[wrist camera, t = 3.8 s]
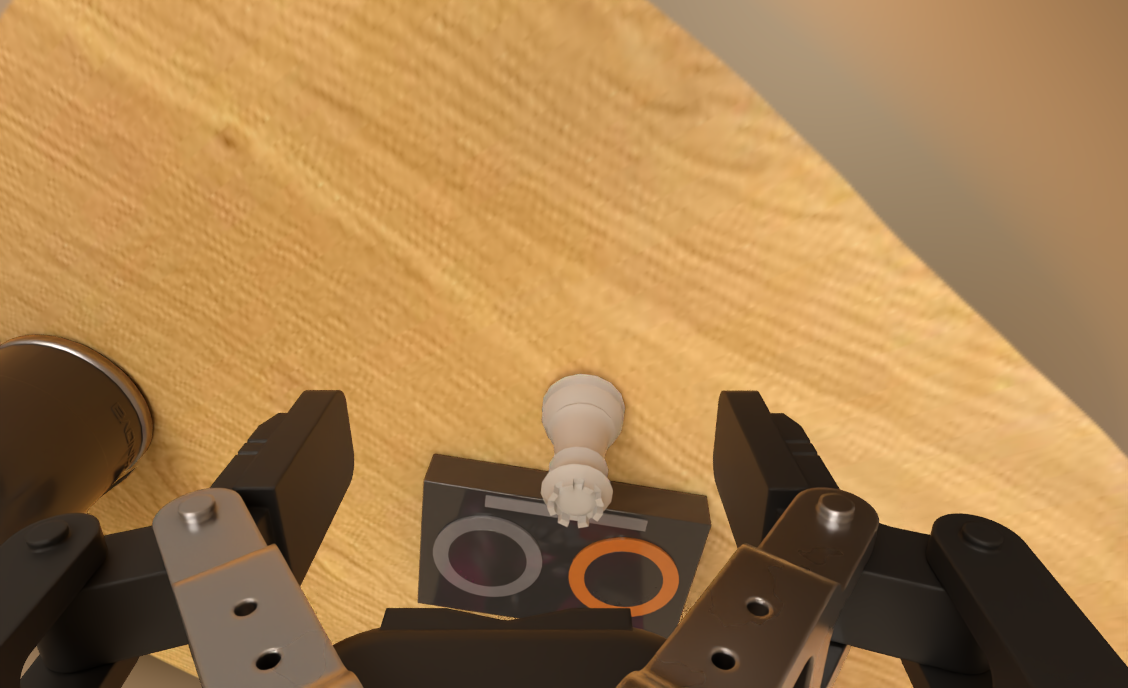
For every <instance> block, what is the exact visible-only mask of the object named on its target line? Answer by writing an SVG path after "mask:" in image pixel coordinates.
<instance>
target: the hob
mask: <svg viewBox="0 0 1128 688" xmlns="http://www.w3.org/2000/svg"><path fill="white" fill-rule="evenodd" d="M548 473H549V472H548V471H541V470H535V469H528V468H522V467H516V466H509V465H503V464H496V463H490V462H483V461H477V460H471V459H464V458H458V457H451V456H445V455H438V454H434V455H433V457H432V460H431V462H430V465H429V468H428V470H427V473H426V476H425V478H424V482H423V502H422V522H421V542H420V562H419V583H418V603H422V604H429V605H435V606H442V607H448V608H455V609H461V610H468V611H474V612H481V613H487V614H494V615H500V616H507V617H513V618H524V617H529V616H534V615H539V614H544V613H549V612H554V611H559V610H564V609H569V608H630V609H631V618H632V627H634V628H638V629H642V630H646V631H649V632H652V633H655V634H657V635H660V636H662V637H664V638H666V639H668V637H669V636H670V635H671V634H672V632H673V631H674V630H675V628H676V627H677V626H678V623H679V620H680V617H681V614H682V611H683V608H684V605H685V602H686V599H687V596H688V593H689V590H690V587H691V584H692V582H693V579H694V576H695V573H696V570H697V567H698V564H699V561H700V558H701V555H702V552H703V549H704V546H705V543H706V540H707V537H708V534H709V531H710V528H711V520H710V514H709V508H708V501H707V497H706V496H702V495H696V494H689V493H683V492H676V491H670V490H663V489H657V488H651V487H644V486H638V485H631V484H625V483H618V482H612V481H610V484H611V487H612V489H613V494H612V500H611V503H610V504H609V505H608V507H607V508H606V509H605V510H604V511H603V515H602V516H601V518H600V519H599V520H598V521H596V520H594V519H593V518H590V519H589V526H588V527H583V528H578V521H575V520H569V524H568V527H566V526H564V525H562V524H560V523H558V515H557V514H555V515H552V516H550V513H549V511H548V509H547V505H546V504H545V502H544V500H543V497H542V495H541V487H542V482H543V480H544V479H545V477H546V476H547V474H548Z"/></svg>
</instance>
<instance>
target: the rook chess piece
mask: <svg viewBox="0 0 1128 688" xmlns="http://www.w3.org/2000/svg"><path fill="white" fill-rule="evenodd" d="M542 412H543V413H542V423H543V426H544V428H545V431H546V434H547V436H548V438H549V439H550V440H551V442H552V444H553V445H554V454H555V455H554V457H553V458H552V460H551V461H550V465H549V473H548V474H547V476H546V477H545V479H544V480H543V482H542V487H541V495H542V497H543V500H544V502H545V504H546V505H547V509H548V511H549V513H550V516H552V515H555V514H557V515H558V523H560V524H562V525H564V526H566V527H568V524H569V520H575V521H578V528H583V527H588V526H589V519H590V518H593V519H594V520H596V521H598V520H599V519H600V518H601V516H602V515H603V511H604V510H605V509H606V508H607V507H608V505H609V504H610V503H611V500H612V494H613V489H612V487H611V484H610V481H609V479H608V478H607V476H608V470H609V469H608V467H607V464H606V461H605V460H604V459H605V455H606V451H607V449H608V448H609V447H610V446H611V445H612V444H613V443H614V441H615V440H616V439H617V437H618V436H619V434H620V433H621V431H622V426H623V420H624V412H625V405H624V402H623V399H622V396H621V394H620V392H619V391H618V390H617V389H616V388H615V387H614V386H613V385H612V384H611V383H610V382H608V381H606V380H604V379H602V378H600V377H598V376H594V375H585V374H576V375H572V376H568V377H563V378H562V379H560V380H559V381H557V382H556V383H554V384H553V385H551V386H550V388H549V390H548V391H547V393H546V394H545V396H544V398H543V407H542Z"/></svg>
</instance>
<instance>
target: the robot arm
mask: <svg viewBox="0 0 1128 688" xmlns="http://www.w3.org/2000/svg"><path fill="white" fill-rule="evenodd" d="M152 433H153V425H152V418H151V414H150V411H149V408H148V406H147V404H146V402H145V399H144V398H143V396H142V394H141V393H140V391H139V390H138V388H137V387H136V386H135V384H134V383H133V382H132V381H131V380H130V378H129V377H128V376H127V375H126V374H125V373H124V372H123V371H122V370H120V369H119V368H118V367H117V366H116V365H115V364H113V363H112V362H111V361H109V360H108V359H106V358H105V357H104V356H102V355H100V354H99V353H97V352H95V351H94V350H92V349H90V348H88V347H86V346H84V345H81V344H79V343H76V342H74V341H71V340H68V339H64V338H60V337H56V336H50V335H25V336H19V337H16V338H13V339H10V340H8V341H6V342H5V343H3V344H1V345H0V688H121V687H122V685H123V683H124V682H125V680H126V678H127V677H128V675H129V674H130V672H131V670H132V669H133V667H134V666H135V664H136V662H137V660H138V658H139V657H140V656H143V655H147V654H151V653H155V652H159V651H163V650H167V649H171V648H175V647H179V646H183V645H187V644H188V645H189V648H190V652H191V655H192V658H193V661H194V664H195V667H196V670H197V674H198V677H199V680H200V683H201V686H202V688H832V687H833V685H834V683H835V681H836V678H837V676H838V674H839V672H840V670H841V668H842V666H843V663H844V661H845V659H846V657H847V655H848V653H849V651H850V648H851V646H854V647H858V648H862V649H865V650H869V651H873V652H877V653H881V654H885V655H889V656H893V657H896V658H900V659H901V661H902V664H903V666H904V668H905V670H906V672H907V674H908V676H909V679H910V681H911V683H912V685H913V687H914V688H1128V667H1127V665H1126V664H1125V663H1124V662H1123V661H1122V659H1121V658H1120V657H1119V656H1118V655H1117V653H1116V652H1115V651H1114V650H1113V648H1112V647H1111V646H1110V645H1109V644H1108V642H1107V641H1106V640H1105V639H1104V638H1103V636H1102V635H1101V634H1100V633H1099V631H1098V630H1097V629H1096V628H1095V627H1094V625H1093V624H1092V623H1091V622H1090V621H1089V619H1088V618H1087V617H1086V616H1085V615H1084V613H1083V612H1082V611H1081V610H1080V608H1079V607H1078V606H1077V605H1076V604H1075V602H1074V601H1073V600H1072V599H1071V598H1070V596H1069V595H1068V594H1067V593H1066V591H1065V590H1064V589H1063V588H1062V587H1061V585H1060V584H1059V583H1058V582H1057V581H1056V579H1055V578H1054V577H1053V576H1052V574H1051V573H1050V572H1049V571H1048V570H1047V568H1046V567H1045V566H1044V565H1043V564H1042V562H1041V561H1040V560H1039V559H1038V557H1037V556H1036V555H1035V554H1034V553H1033V551H1032V550H1031V549H1030V548H1029V547H1028V545H1027V544H1026V543H1025V542H1024V541H1023V540H1022V539H1021V538H1020V537H1019V536H1018V535H1017V534H1016V533H1014V532H1013V531H1011V530H1010V529H1008V528H1007V527H1005V526H1003V525H1001V524H999V523H997V522H994V521H992V520H989V519H986V518H983V517H979V516H975V515H970V514H948V515H944V516H941V517H940V518H938V519H937V520H936V521H935V522H934V524H933V527H932V531H931V534H930V535H928V534H923V533H918V532H913V531H908V530H903V529H898V528H894V527H890V526H887V525H884V524H881V523H879V518H878V514H877V513H876V511H875V510H874V509H873V507H872V506H871V505H870V504H868V503H867V502H866V501H864V500H863V499H861V498H860V497H858V496H856V495H854V494H851V493H849V492H846V491H843V490H840V489H839V487H838V486H837V484H836V482H835V481H834V479H833V477H832V476H831V474H830V473H829V471H828V469H827V468H826V466H825V464H824V463H823V461H822V459H821V458H820V456H817V451H816V450H815V448H814V446H813V445H812V443H810V440H809V438H808V437H807V435H806V433H805V432H804V430H803V428H802V427H801V426H800V425H799V424H798V423H796V422H795V421H793V420H792V419H791V418H789V417H788V416H786V415H785V414H784V413H770V412H769V410H768V408H767V406H766V404H765V402H764V401H763V399H762V397H761V395H760V393H759V392H758V391H722V392H721V394H720V397H719V403H718V412H717V422H716V432H715V442H714V452H713V470H714V478H715V482H716V486H717V489H718V492H719V495H720V498H721V500H722V503H723V506H724V509H725V512H726V515H727V518H728V521H729V524H730V527H731V530H732V533H733V536H734V539H735V542H736V545H737V548H738V549H737V550H736V552H735V553H734V554H733V555H732V557H731V558H730V559H729V561H728V562H727V563H726V564H725V566H724V567H723V568H722V570H721V571H720V572H719V573H718V575H717V576H716V577H715V579H714V580H713V581H712V582H711V584H710V585H709V586H708V587H707V589H706V590H705V591H704V593H703V594H702V595H701V596H700V598H699V599H698V600H697V602H696V603H695V604H694V605H693V607H692V608H691V609H690V610H689V612H688V613H687V614H686V616H685V617H684V618H683V619H682V621H681V622H680V623H679V625H678V626H677V627H676V628H675V630H674V631H673V632H672V634H671V635H670V636H669V637H668V639H666V638H664V637H662V636H660V635H657V634H655V633H652V632H649V631H646V630H642V629H638V628H634V627H632V618H631V609H630V608H569V609H564V610H559V611H554V612H549V613H544V614H539V615H534V616H529V617H524V618H520V619H515V620H500V619H495V618H490V617H486V616H481V615H476V614H471V613H467V612H462V611H457V610H453V609H448V608H386V611H385V615H384V618H383V621H382V624H381V627H380V628H377V629H372V630H369V631H365V632H362V633H359V634H356V635H354V636H351V637H349V638H346V639H344V640H342V641H340V642H338V643H336V644H334V645H332V643H331V642H330V640H329V638H328V636H327V634H326V633H325V631H324V629H323V627H322V625H321V624H320V622H319V620H318V618H317V616H316V615H315V613H314V611H313V609H312V607H311V606H310V604H309V602H308V600H307V598H306V597H305V595H304V593H303V591H302V590H301V588H300V586H301V584H302V582H303V580H304V578H305V575H306V573H307V571H308V569H309V567H310V565H311V563H312V561H313V559H314V557H315V555H316V553H317V551H318V549H319V547H320V545H321V542H322V540H323V538H324V536H325V534H326V532H327V530H328V528H329V526H330V524H331V522H332V520H333V518H334V516H335V514H336V512H337V509H338V507H339V505H340V503H341V501H342V499H343V497H344V495H345V493H346V491H347V489H348V487H349V485H350V482H351V480H352V476H353V470H354V451H353V444H352V438H351V431H350V424H349V417H348V411H347V404H346V399H345V396H344V393H343V392H342V391H341V390H306V391H304V392H303V393H302V394H301V395H300V397H299V398H298V399H297V401H296V402H295V404H294V405H293V406H292V408H291V409H290V410H289V412H288V413H278V414H277V415H275V416H273V417H272V418H270V419H269V420H267V421H266V422H264V423H262V424H261V425H259V426H258V428H257V429H256V430H255V431H254V433H253V434H252V435H251V436H250V438H249V439H248V442H247V443H245V444H244V445H243V446H242V448H241V449H240V450H239V452H238V455H235V457H234V458H233V459H232V460H231V462H230V463H229V464H228V465H227V467H226V468H225V469H224V470H223V472H222V473H221V474H220V475H219V477H218V478H217V479H216V480H215V482H214V483H213V484H212V486H211V487H210V488H208V489H202V490H197V491H194V492H190V493H188V494H185V495H182V496H180V497H178V498H176V499H174V500H173V501H171V502H169V503H168V504H166V505H165V506H164V507H163V508H162V509H160V510H159V512H158V513H157V514H156V515H155V517H154V519H153V523H152V525H153V526H149V527H144V528H139V529H134V530H129V531H124V532H119V533H114V534H109V535H103V532H102V529H101V526H100V523H99V521H98V519H97V518H96V517H94V516H93V515H90V514H85V512H86V511H87V510H88V509H89V508H90V507H91V506H92V505H93V504H94V503H95V502H96V501H97V500H98V499H99V498H100V497H101V496H103V495H104V494H105V493H107V492H108V491H109V490H111V489H112V488H113V487H115V486H116V485H118V484H119V483H120V482H122V481H123V480H124V479H126V478H127V477H128V476H129V475H130V474H131V472H132V471H133V470H134V469H135V468H134V469H133V470H132V471H130V472H129V473H128V474H126V475H125V476H123V477H122V478H121V479H119V480H118V481H117V482H115V481H116V480H117V479H118V478H119V477H120V476H121V475H122V474H123V473H124V472H125V471H126V470H128V469H129V468H131V467H132V466H133V465H134V464H135V463H136V462H137V461H138V460H139V459H140V458H141V457H142V456H143V454H144V453H145V452H146V450H147V449H148V447H149V445H150V443H151V439H152ZM114 482H115V483H114ZM113 483H114V484H113ZM112 484H113V485H112ZM36 646H37V648H38V650H39V653H40V655H39V656H38V657H37V659H36V660H35V661H34V662H33V664H32V665H31V666H30V668H29V669H28V670H27V671H26V673H25V674H24V675H23V676H22V678H21V679H20V677H21V672H22V669H23V666H24V663H25V661H26V659H27V658H28V656H29V655H30V653H31V652H32V651H33V649H34V648H35V647H36Z"/></svg>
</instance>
